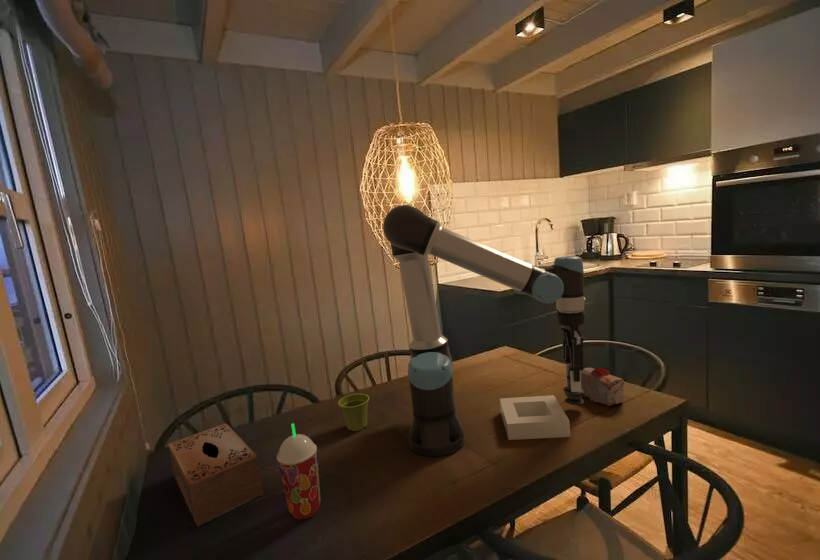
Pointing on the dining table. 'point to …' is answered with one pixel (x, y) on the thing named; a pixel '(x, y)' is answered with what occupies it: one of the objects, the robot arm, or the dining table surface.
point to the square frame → (534, 418)
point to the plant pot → (355, 411)
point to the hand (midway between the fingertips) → (573, 387)
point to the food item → (602, 386)
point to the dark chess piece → (573, 393)
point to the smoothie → (300, 475)
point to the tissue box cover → (215, 471)
